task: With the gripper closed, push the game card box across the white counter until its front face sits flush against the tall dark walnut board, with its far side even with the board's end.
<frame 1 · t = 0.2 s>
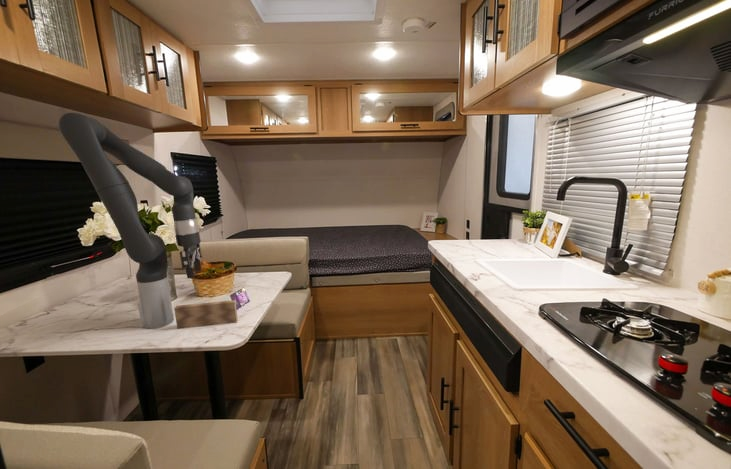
hand: (194, 274, 117), 17 cm above the table, tool pointing down, fingers open, 8 cm apart
game card: (238, 306, 131), on the table
walnut board: (208, 324, 114), on the table
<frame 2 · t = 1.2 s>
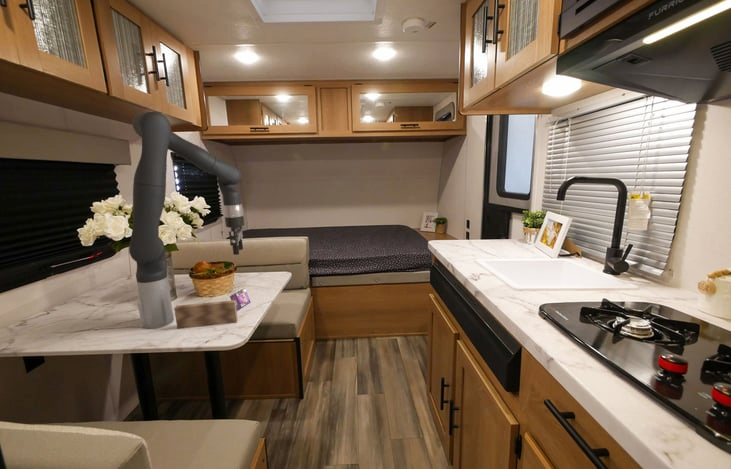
hand: (238, 252, 136), 21 cm above the table, tool pointing down, fingers open, 8 cm apart
game card: (239, 307, 130), on the table
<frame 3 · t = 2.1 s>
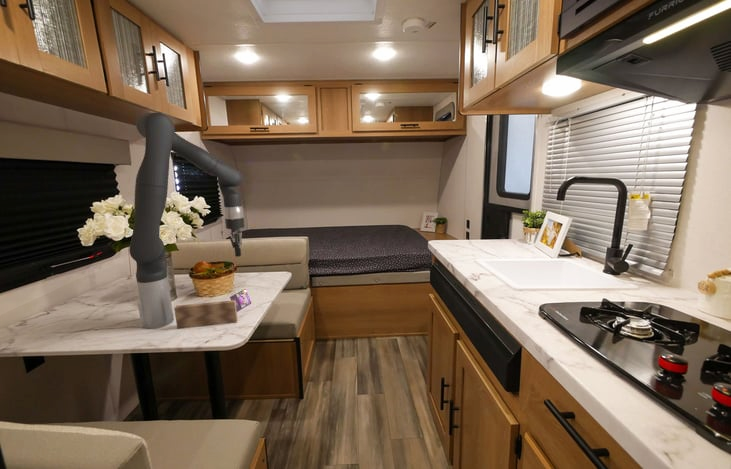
hand: (238, 256, 137), 19 cm above the table, tool pointing down, fingers closed
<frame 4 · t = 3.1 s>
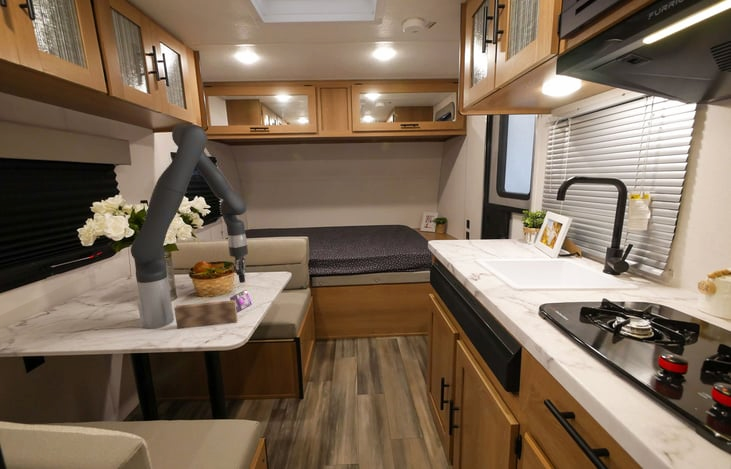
hand: (242, 282, 139), 7 cm above the table, tool pointing down, fingers closed
game card: (239, 308, 128), on the table
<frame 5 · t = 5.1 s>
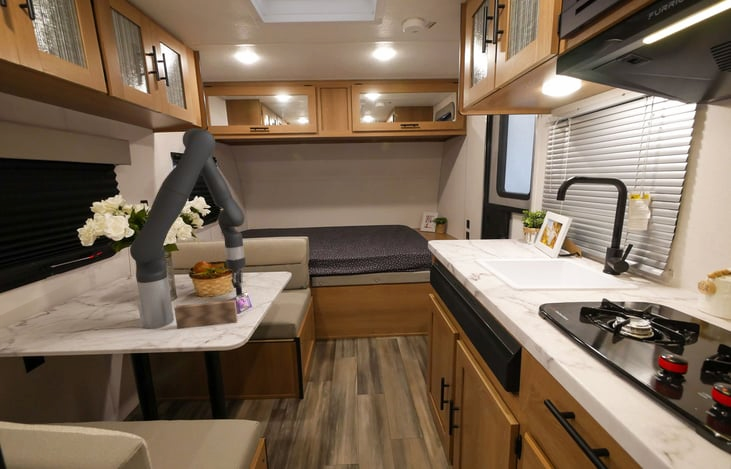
hand: (239, 295, 135), 2 cm above the table, tool pointing down, fingers closed
game card: (239, 311, 126), on the table
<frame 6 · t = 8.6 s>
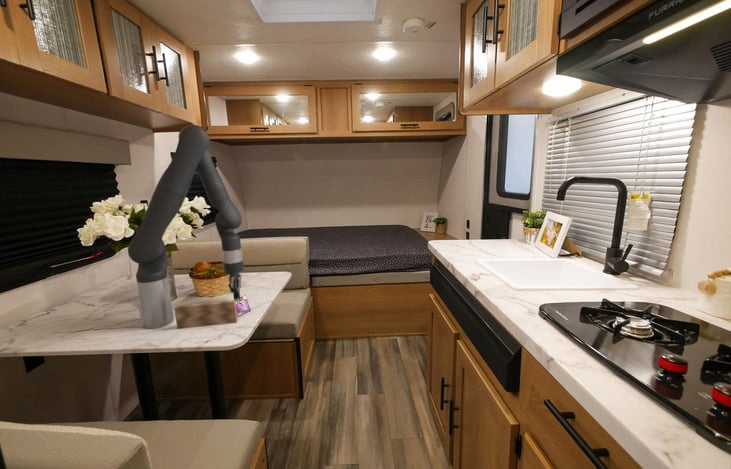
hand: (237, 300, 129), 3 cm above the table, tool pointing down, fingers closed
game card: (237, 315, 122), on the table
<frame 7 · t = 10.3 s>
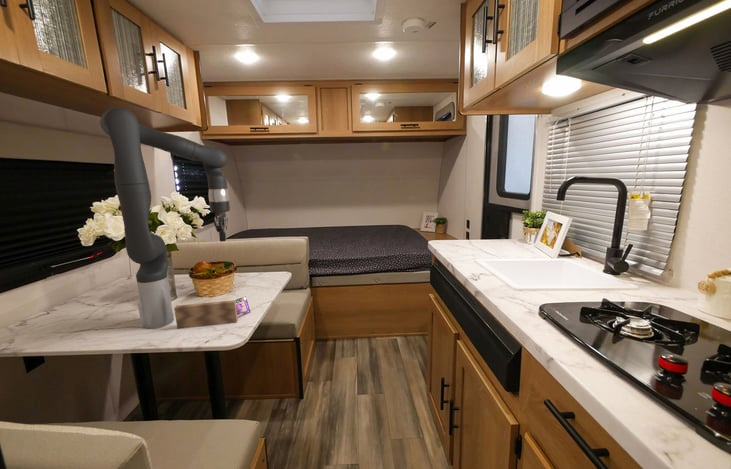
hand: (223, 241, 132), 26 cm above the table, tool pointing down, fingers closed
game card: (237, 315, 121), on the table, touching walnut board
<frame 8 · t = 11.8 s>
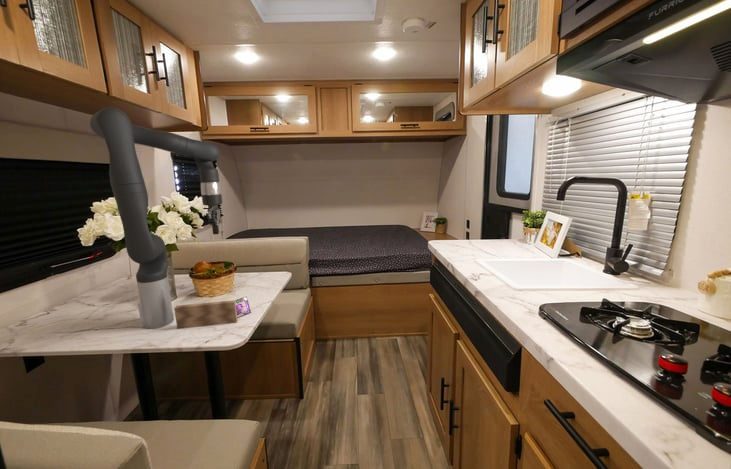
hand: (216, 234, 133), 29 cm above the table, tool pointing down, fingers closed
nothing on the table moved.
at the end: game card 1.3 cm from the target spot on the table beside the walnut board, on the table; game card tilted 0° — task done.
